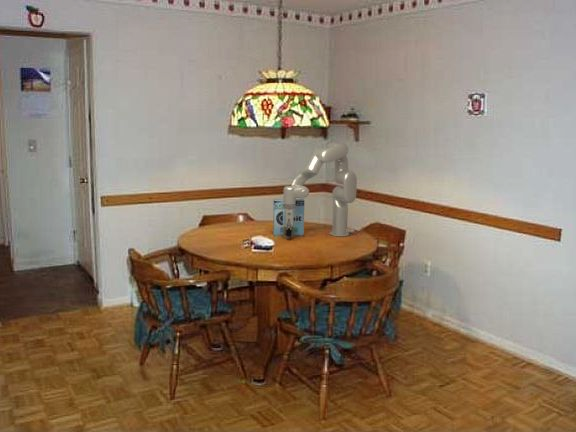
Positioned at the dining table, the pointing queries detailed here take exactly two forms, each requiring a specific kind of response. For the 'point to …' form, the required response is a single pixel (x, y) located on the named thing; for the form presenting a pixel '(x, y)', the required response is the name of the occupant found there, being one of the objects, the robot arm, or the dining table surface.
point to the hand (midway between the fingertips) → (288, 235)
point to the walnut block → (285, 233)
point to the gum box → (280, 218)
